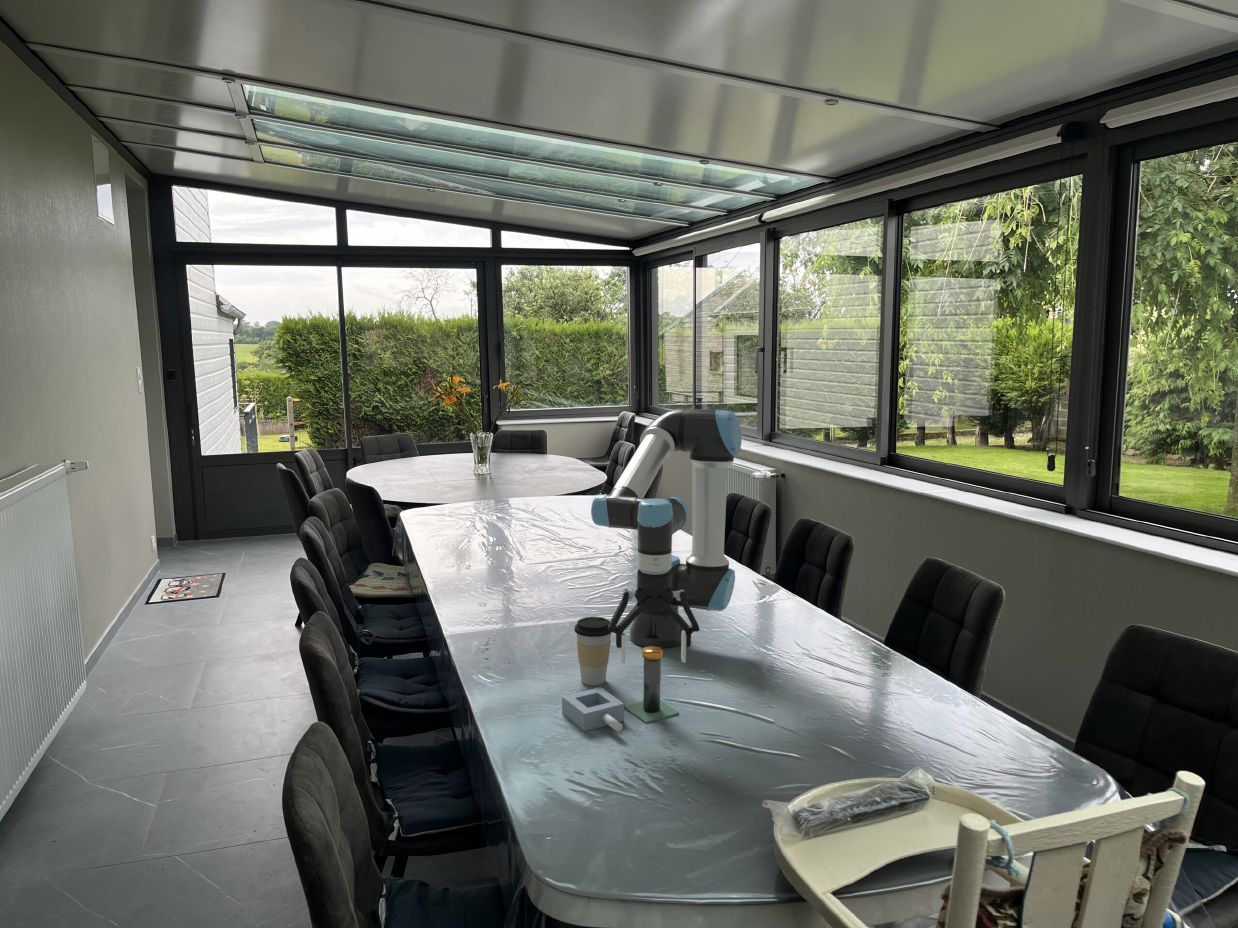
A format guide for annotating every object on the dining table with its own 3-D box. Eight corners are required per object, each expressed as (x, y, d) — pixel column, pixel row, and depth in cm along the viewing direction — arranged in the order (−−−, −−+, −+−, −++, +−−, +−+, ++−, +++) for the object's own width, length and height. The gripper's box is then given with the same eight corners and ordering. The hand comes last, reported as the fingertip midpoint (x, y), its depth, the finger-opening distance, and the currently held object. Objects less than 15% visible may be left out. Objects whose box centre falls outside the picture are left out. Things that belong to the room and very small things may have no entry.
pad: (623, 707, 190) (623, 705, 190) (656, 699, 195) (656, 697, 195) (645, 723, 182) (645, 721, 182) (679, 713, 187) (679, 712, 187)
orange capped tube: (642, 713, 186) (642, 653, 184) (640, 704, 191) (641, 646, 188) (662, 713, 186) (663, 653, 184) (660, 704, 191) (661, 646, 189)
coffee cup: (616, 675, 208) (617, 617, 205) (606, 690, 199) (606, 630, 196) (580, 670, 210) (581, 613, 208) (568, 685, 201) (568, 626, 199)
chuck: (562, 713, 187) (562, 696, 186) (600, 703, 192) (600, 686, 191) (598, 743, 173) (598, 724, 173) (638, 731, 178) (639, 714, 178)
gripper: (597, 575, 179) (597, 667, 183) (713, 574, 180) (710, 666, 184) (597, 564, 187) (597, 654, 190) (708, 564, 188) (706, 653, 191)
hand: (653, 660), depth 187 cm, fingers open, 13 cm apart
